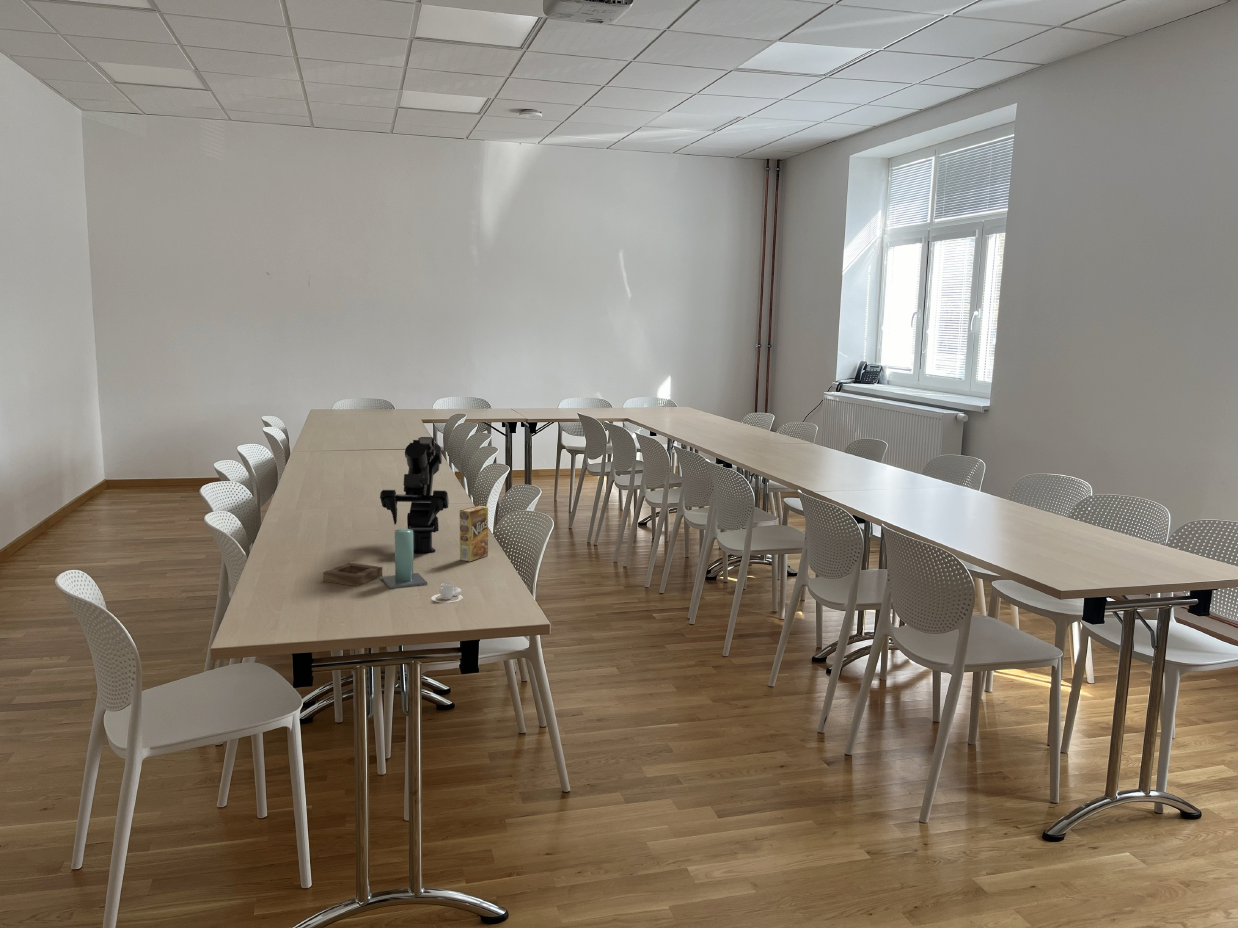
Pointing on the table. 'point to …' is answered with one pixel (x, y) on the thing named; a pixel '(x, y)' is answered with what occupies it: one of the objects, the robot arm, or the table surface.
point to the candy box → (473, 533)
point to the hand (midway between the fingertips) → (411, 524)
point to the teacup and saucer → (448, 593)
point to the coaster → (393, 583)
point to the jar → (403, 555)
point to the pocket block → (352, 574)
